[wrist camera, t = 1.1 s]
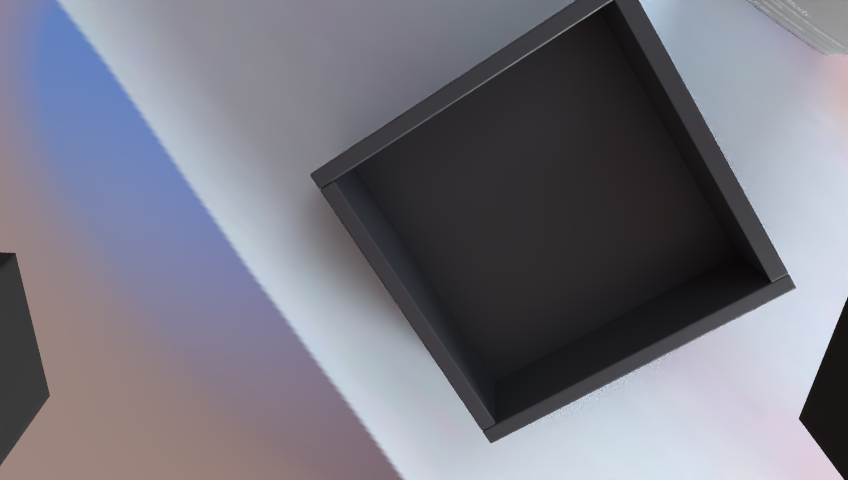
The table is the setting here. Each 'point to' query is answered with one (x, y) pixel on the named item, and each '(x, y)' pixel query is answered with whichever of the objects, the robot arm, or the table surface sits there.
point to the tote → (556, 217)
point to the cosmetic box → (812, 21)
